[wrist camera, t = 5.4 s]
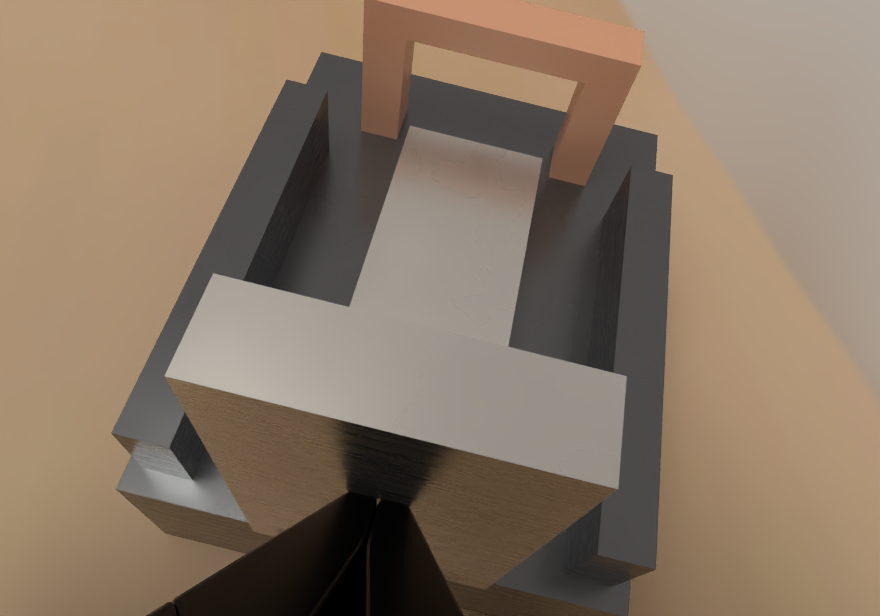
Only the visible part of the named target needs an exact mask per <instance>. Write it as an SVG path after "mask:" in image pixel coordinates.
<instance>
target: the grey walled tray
mask: <svg viewBox="0 0 880 616" xmlns="http://www.w3.org/2000/svg"><path fill="white" fill-rule="evenodd" d="M362 70H363V62H360V61H355V60H351V59H347V58H343V57H339V56H335V55H331V54H327V53H323V52H321V54H320V56H319V58H318V61H317V63H316V65H315V67H314V69H313V71H312V73H311V75H310V78H309V80H308V82H307V84H302V83H298V82H294V81H290V80H286V82H285V84H284V86H283V88H282V90H281V92H280V94H279V96H278V98H277V100H276V102H275V104H274V106H273V108H272V110H271V112H270V114H269V116H268V118H267V120H266V122H265V124H264V126H263V128H262V130H261V132H260V134H259V136H258V138H257V140H256V142H255V144H254V146H253V148H252V150H251V153H250V155H249V157H248V159H247V161H246V163H245V165H244V167H243V169H242V171H241V173H240V175H239V177H238V179H237V181H236V183H235V185H234V187H233V189H232V191H231V193H230V195H229V197H228V199H227V201H226V203H225V205H224V207H223V209H222V211H221V213H220V215H219V217H218V219H217V221H216V223H215V225H214V227H213V229H212V231H211V233H210V235H209V237H208V239H207V241H206V243H205V245H204V247H203V249H202V251H201V253H200V255H199V257H198V259H197V261H196V263H195V265H194V267H193V269H192V271H191V273H190V275H189V277H188V280H187V282H186V284H185V286H184V288H183V290H182V292H181V294H180V296H179V298H178V300H177V302H176V304H175V306H174V308H173V310H172V312H171V314H170V316H169V318H168V320H167V322H166V324H165V326H164V328H163V330H162V332H161V334H160V336H159V338H158V340H157V342H156V344H155V346H154V348H153V350H152V352H151V354H150V356H149V358H148V360H147V362H146V364H145V366H144V368H143V370H142V372H141V374H140V376H139V378H138V380H137V382H136V384H135V386H134V388H133V390H132V392H131V394H130V396H129V398H128V400H127V402H126V404H125V407H124V409H123V411H122V413H121V415H120V417H119V419H118V421H117V423H116V425H115V427H114V429H113V431H112V434H113V436H114V437H115V438H116V439H117V440H118V441H119V442H120V443H121V444H122V446H123V447H124V448H125V449H126V450H127V451H128V452H129V453H130V454H131V458H130V460H129V462H128V464H127V466H126V468H125V471H124V473H123V475H122V477H121V479H120V481H119V483H118V485H117V488H116V490H117V491H118V492H119V493H121V494H122V495H123V496H124V497H125V498H126V499H127V500H128V501H130V502H131V503H132V504H133V505H134V506H135V507H136V508H137V509H139V510H140V511H141V512H142V513H143V514H144V515H145V516H146V517H148V518H149V519H150V520H151V521H152V522H153V523H154V524H155V525H157V526H158V527H159V528H160V529H161V530H162V531H163V532H164V533H167V534H171V535H175V536H179V537H183V538H187V539H191V540H195V541H199V542H203V543H207V544H211V545H215V546H219V547H223V548H227V549H231V550H235V551H239V552H243V553H249V552H251V551H252V550H254V549H255V548H257V547H259V546H260V545H262V544H264V543H265V542H267V541H268V540H270V539H272V538H273V536H269V535H265V534H261V533H257V532H253V530H252V528H251V526H250V525H249V523H248V521H247V519H246V518H245V516H244V514H243V512H242V511H241V509H240V507H239V505H238V504H237V502H236V500H235V498H234V497H233V495H232V493H231V491H230V490H229V488H228V486H227V484H226V483H225V481H224V479H223V477H222V476H221V474H220V472H219V470H218V469H217V467H216V465H215V464H214V462H213V460H212V458H211V457H210V455H209V453H208V451H207V450H206V448H205V446H204V444H203V443H202V441H201V439H200V437H199V436H198V434H197V432H196V430H195V429H194V427H193V425H192V423H191V422H190V420H189V418H188V416H187V415H186V413H185V411H184V409H183V408H182V406H181V404H180V402H179V401H178V399H177V397H176V395H175V394H174V392H173V390H172V388H171V387H170V385H169V383H168V381H167V380H166V378H165V374H166V372H167V370H168V367H169V365H170V363H171V361H172V359H173V357H174V355H175V353H176V351H177V348H178V346H179V344H180V342H181V340H182V338H183V336H184V334H185V332H186V330H187V327H188V325H189V323H190V321H191V319H192V317H193V315H194V313H195V311H196V308H197V306H198V304H199V302H200V300H201V298H202V296H203V294H204V292H205V289H206V287H207V285H208V283H209V281H210V279H211V277H212V275H213V273H214V274H218V275H222V276H226V277H230V278H234V279H238V280H242V281H246V282H250V283H254V284H258V285H262V286H267V287H271V288H275V289H279V290H283V291H287V292H291V293H295V294H299V295H303V296H307V297H311V298H315V299H319V300H323V301H327V302H331V303H335V304H339V305H343V306H347V307H349V306H350V303H351V300H352V297H353V294H354V291H355V288H356V285H357V282H358V279H359V276H360V273H361V270H362V267H363V264H364V261H365V258H366V255H367V253H368V250H369V247H370V244H371V241H372V238H373V235H374V232H375V229H376V226H377V223H378V220H379V217H380V214H381V211H382V208H383V205H384V202H385V199H386V196H387V193H388V190H389V187H390V184H391V181H392V178H393V175H394V172H395V169H396V166H397V163H398V160H399V157H400V154H401V151H402V148H403V145H404V142H405V139H406V136H407V133H408V130H409V127H410V126H414V127H418V128H422V129H426V130H430V131H434V132H438V133H442V134H446V135H450V136H454V137H458V138H462V139H466V140H470V141H474V142H478V143H482V144H486V145H490V146H494V147H498V148H502V149H506V150H510V151H514V152H518V153H522V154H527V155H531V156H535V157H539V158H543V159H542V164H541V170H540V175H539V181H538V186H537V192H536V197H535V203H534V208H533V213H532V219H531V224H530V230H529V235H528V241H527V246H526V252H525V257H524V263H523V268H522V274H521V279H520V285H519V290H518V296H517V301H516V307H515V312H514V318H513V323H512V329H511V334H510V340H509V345H508V347H512V348H516V349H520V350H524V351H528V352H532V353H536V354H540V355H544V356H548V357H552V358H556V359H560V360H564V361H568V362H572V363H576V364H580V365H584V366H588V367H592V368H596V369H600V370H604V371H608V372H612V373H616V374H620V375H624V376H627V380H626V393H625V406H624V420H623V433H622V446H621V460H620V473H619V486H618V490H617V491H615V492H614V493H613V494H611V495H610V496H609V497H607V498H606V499H605V500H604V501H602V502H601V503H600V504H598V505H597V506H596V507H594V508H593V509H592V510H590V511H589V512H588V513H586V514H585V515H584V516H582V517H581V518H580V519H578V520H577V521H576V522H574V523H573V524H572V525H570V526H569V527H568V528H566V529H565V530H564V531H562V532H561V533H560V534H558V535H557V536H556V537H554V538H553V539H552V540H550V541H549V542H548V543H547V544H545V545H544V546H543V547H541V548H540V549H539V550H537V551H536V552H535V553H533V554H532V555H531V556H529V557H528V558H527V559H525V560H524V561H523V562H521V563H520V564H519V565H517V566H516V567H515V568H513V569H512V570H511V571H509V572H508V573H507V574H505V575H504V576H503V577H501V578H500V579H499V580H497V581H496V582H495V583H493V584H492V585H491V586H490V587H488V588H487V589H486V590H485V589H481V588H477V587H473V586H469V585H465V584H461V583H457V582H453V581H449V580H446V581H447V583H448V585H449V587H450V589H451V591H452V593H453V595H454V597H455V599H456V601H457V603H458V605H459V607H462V608H466V609H470V610H474V611H478V612H482V613H486V614H490V615H494V616H628V609H629V592H630V580H631V579H633V578H636V577H638V576H641V575H643V574H645V573H648V572H650V571H653V570H655V569H656V553H657V529H658V506H659V483H660V460H661V436H662V413H663V390H664V367H665V344H666V320H667V297H668V274H669V251H670V227H671V204H672V181H673V175H670V174H666V173H662V172H658V171H655V169H656V153H657V137H658V135H655V134H651V133H647V132H642V131H638V130H634V129H630V128H626V127H622V126H618V125H613V127H612V129H611V131H610V133H609V135H608V137H607V140H606V142H605V144H604V146H603V148H602V150H601V152H600V155H599V157H598V159H597V161H596V163H595V165H594V167H593V170H592V172H591V174H590V176H589V178H588V180H587V182H586V184H585V186H582V185H578V184H574V183H570V182H566V181H562V180H558V179H554V178H550V177H549V172H550V166H551V160H552V154H553V149H554V144H555V142H556V139H557V136H558V134H559V131H560V128H561V126H562V123H563V120H564V118H565V115H566V112H562V111H558V110H554V109H549V108H545V107H541V106H537V105H533V104H529V103H525V102H521V101H517V100H513V99H509V98H505V97H501V96H497V95H493V94H489V93H485V92H481V91H477V90H473V89H469V88H465V87H461V86H457V85H452V84H448V83H444V82H440V81H436V80H432V79H428V78H424V77H420V76H416V75H412V74H411V80H410V90H409V99H408V109H407V112H406V115H405V118H404V121H403V124H402V127H401V129H400V132H399V135H398V138H397V139H393V138H389V137H385V136H381V135H377V134H372V133H368V132H364V131H361V109H362Z"/></svg>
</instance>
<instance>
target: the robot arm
mask: <svg viewBox="0 0 880 616" xmlns="http://www.w3.org/2000/svg"><path fill="white" fill-rule="evenodd" d="M146 616H464V615H463V613H462V611H461V609H460V607H459V605H458V603H457V601H456V599H455V597H454V595H453V593H452V591H451V589H450V587H449V585H448V583H447V581H446V579H445V577H444V575H443V573H442V571H441V569H440V567H439V565H438V563H437V561H436V559H435V557H434V555H433V553H432V551H431V549H430V547H429V545H428V543H427V541H426V539H425V537H424V535H423V533H422V531H421V529H420V527H419V525H418V523H417V521H416V519H415V517H414V515H413V513H412V511H411V509H410V508H409V507H408V506H405V505H401V504H397V503H393V502H389V501H385V500H382V501H380V502H379V503H378V505H377V501H376V499H375V498H373V497H369V496H365V495H361V494H357V493H353V492H347V493H345V494H343V495H341V496H340V497H338V498H337V499H335V500H333V501H332V502H330V503H328V504H327V505H325V506H324V507H322V508H320V509H319V510H317V511H315V512H314V513H312V514H311V515H309V516H307V517H306V518H304V519H302V520H301V521H299V522H298V523H296V524H294V525H293V526H291V527H289V528H288V529H286V530H285V531H283V532H281V533H280V534H278V535H277V536H275V537H273V538H272V539H270V540H268V541H267V542H265V543H264V544H262V545H260V546H259V547H257V548H255V549H254V550H252V551H251V552H249V553H247V554H246V555H244V556H242V557H241V558H239V559H238V560H236V561H234V562H233V563H231V564H230V565H228V566H226V567H225V568H223V569H221V570H220V571H218V572H217V573H215V574H213V575H212V576H210V577H208V578H207V579H205V580H204V581H202V582H200V583H199V584H197V585H195V586H194V587H192V588H191V589H189V590H187V591H186V592H184V593H182V594H181V595H179V596H178V597H176V598H175V599H174V600H173V601H172V602H168V603H166V604H164V605H163V606H161V607H159V608H158V609H156V610H154V611H153V612H151V613H150V614H148V615H146Z"/></svg>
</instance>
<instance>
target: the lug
mask: <svg viewBox="0 0 880 616" xmlns="http://www.w3.org/2000/svg"><path fill="white" fill-rule="evenodd" d="M643 38H644V31H640V30H636V29H632V28H628V27H624V26H620V25H616V24H612V23H608V22H604V21H600V20H596V19H592V18H588V17H584V16H580V15H575V14H571V13H567V12H563V11H559V10H555V9H551V8H547V7H543V6H539V5H535V4H531V3H527V2H523V1H519V0H364V30H363V70H362V109H361V131H364V132H368V133H372V134H377V135H381V136H385V137H389V138H393V139H397V138H398V135H399V132H400V129H401V127H402V124H403V121H404V118H405V115H406V112H407V109H408V99H409V90H410V80H411V70H412V61H413V51H414V41H415V42H419V43H423V44H427V45H431V46H435V47H439V48H443V49H447V50H451V51H455V52H459V53H463V54H467V55H471V56H475V57H479V58H483V59H487V60H491V61H496V62H500V63H504V64H508V65H512V66H516V67H520V68H524V69H528V70H532V71H536V72H540V73H544V74H548V75H552V76H556V77H560V78H564V79H568V80H572V81H576V82H578V83H577V86H576V89H575V91H574V94H573V97H572V99H571V102H570V105H569V107H568V110H567V113H566V115H565V118H564V120H563V123H562V126H561V128H560V131H559V134H558V136H557V139H556V142H555V144H554V149H553V154H552V160H551V166H550V172H549V177H550V178H554V179H558V180H562V181H566V182H570V183H574V184H578V185H582V186H585V184H586V182H587V180H588V178H589V176H590V174H591V172H592V170H593V167H594V165H595V163H596V161H597V159H598V157H599V155H600V152H601V150H602V148H603V146H604V144H605V142H606V140H607V137H608V135H609V133H610V131H611V129H612V127H613V125H614V123H615V120H616V118H617V116H618V114H619V112H620V110H621V108H622V105H623V103H624V101H625V99H626V97H627V95H628V93H629V91H630V88H631V86H632V84H633V82H634V80H635V78H636V76H637V73H638V71H639V69H640V67H641V61H642V49H643Z"/></svg>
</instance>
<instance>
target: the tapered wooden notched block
mask: <svg viewBox="0 0 880 616" xmlns="http://www.w3.org/2000/svg"><path fill="white" fill-rule="evenodd" d="M542 159H543V158H539V157H535V156H531V155H527V154H522V153H518V152H514V151H510V150H506V149H502V148H498V147H494V146H490V145H486V144H482V143H478V142H474V141H470V140H466V139H462V138H458V137H454V136H450V135H446V134H442V133H438V132H434V131H430V130H426V129H422V128H418V127H414V126H410V127H409V130H408V133H407V136H406V139H405V142H404V145H403V148H402V151H401V154H400V157H399V160H398V163H397V166H396V169H395V172H394V175H393V178H392V181H391V184H390V187H389V190H388V193H387V196H386V199H385V202H384V205H383V208H382V211H381V214H380V217H379V220H378V223H377V226H376V229H375V232H374V235H373V238H372V241H371V244H370V247H369V250H368V253H367V255H366V258H365V261H364V264H363V267H362V270H361V273H360V276H359V279H358V282H357V285H356V288H355V291H354V294H353V297H352V300H351V303H350V306H349V307H347V306H343V305H339V304H335V303H331V302H327V301H323V300H319V299H315V298H311V297H307V296H303V295H299V294H295V293H291V292H287V291H283V290H279V289H275V288H271V287H267V286H262V285H258V284H254V283H250V282H246V281H242V280H238V279H234V278H230V277H226V276H222V275H218V274H214V273H213V275H212V277H211V279H210V281H209V283H208V285H207V287H206V289H205V292H204V294H203V296H202V298H201V300H200V302H199V304H198V306H197V308H196V311H195V313H194V315H193V317H192V319H191V321H190V323H189V325H188V327H187V330H186V332H185V334H184V336H183V338H182V340H181V342H180V344H179V346H178V348H177V351H176V353H175V355H174V357H173V359H172V361H171V363H170V365H169V367H168V370H167V372H166V374H165V378H166V380H167V381H168V383H169V385H170V387H171V388H172V390H173V392H174V394H175V395H176V397H177V399H178V401H179V402H180V404H181V406H182V408H183V409H184V411H185V413H186V415H187V416H188V418H189V420H190V422H191V423H192V425H193V427H194V429H195V430H196V432H197V434H198V436H199V437H200V439H201V441H202V443H203V444H204V446H205V448H206V450H207V451H208V453H209V455H210V457H211V458H212V460H213V462H214V464H215V465H216V467H217V469H218V470H219V472H220V474H221V476H222V477H223V479H224V481H225V483H226V484H227V486H228V488H229V490H230V491H231V493H232V495H233V497H234V498H235V500H236V502H237V504H238V505H239V507H240V509H241V511H242V512H243V514H244V516H245V518H246V519H247V521H248V523H249V525H250V526H251V528H252V530H253V532H257V533H261V534H265V535H269V536H273V537H275V536H277V535H278V534H280V533H281V532H283V531H285V530H286V529H288V528H289V527H291V526H293V525H294V524H296V523H298V522H299V521H301V520H302V519H304V518H306V517H307V516H309V515H311V514H312V513H314V512H315V511H317V510H319V509H320V508H322V507H324V506H325V505H327V504H328V503H330V502H332V501H333V500H335V499H337V498H338V497H340V496H341V495H343V494H345V493H347V492H353V493H357V494H361V495H365V496H369V497H373V498H375V499H376V501H377V505H378V503H379V502H380V501H382V500H385V501H389V502H393V503H397V504H401V505H405V506H408V507H409V508H410V509H411V511H412V513H413V515H414V517H415V519H416V521H417V523H418V525H419V527H420V529H421V531H422V533H423V535H424V537H425V539H426V541H427V543H428V545H429V547H430V549H431V551H432V553H433V555H434V557H435V559H436V561H437V563H438V565H439V567H440V569H441V571H442V573H443V575H444V577H445V579H446V580H449V581H453V582H457V583H461V584H465V585H469V586H473V587H477V588H481V589H485V590H486V589H487V588H488V587H490V586H491V585H492V584H493V583H495V582H496V581H497V580H499V579H500V578H501V577H503V576H504V575H505V574H507V573H508V572H509V571H511V570H512V569H513V568H515V567H516V566H517V565H519V564H520V563H521V562H523V561H524V560H525V559H527V558H528V557H529V556H531V555H532V554H533V553H535V552H536V551H537V550H539V549H540V548H541V547H543V546H544V545H545V544H547V543H548V542H549V541H550V540H552V539H553V538H554V537H556V536H557V535H558V534H560V533H561V532H562V531H564V530H565V529H566V528H568V527H569V526H570V525H572V524H573V523H574V522H576V521H577V520H578V519H580V518H581V517H582V516H584V515H585V514H586V513H588V512H589V511H590V510H592V509H593V508H594V507H596V506H597V505H598V504H600V503H601V502H602V501H604V500H605V499H606V498H607V497H609V496H610V495H611V494H613V493H614V492H615V491H617V490H618V486H619V473H620V460H621V446H622V433H623V420H624V406H625V393H626V380H627V376H624V375H620V374H616V373H612V372H608V371H604V370H600V369H596V368H592V367H588V366H584V365H580V364H576V363H572V362H568V361H564V360H560V359H556V358H552V357H548V356H544V355H540V354H536V353H532V352H528V351H524V350H520V349H516V348H512V347H508V345H509V340H510V334H511V329H512V323H513V318H514V312H515V307H516V301H517V296H518V290H519V285H520V279H521V274H522V268H523V263H524V257H525V252H526V246H527V241H528V235H529V230H530V224H531V219H532V213H533V208H534V203H535V197H536V192H537V186H538V181H539V175H540V170H541V164H542Z"/></svg>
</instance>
